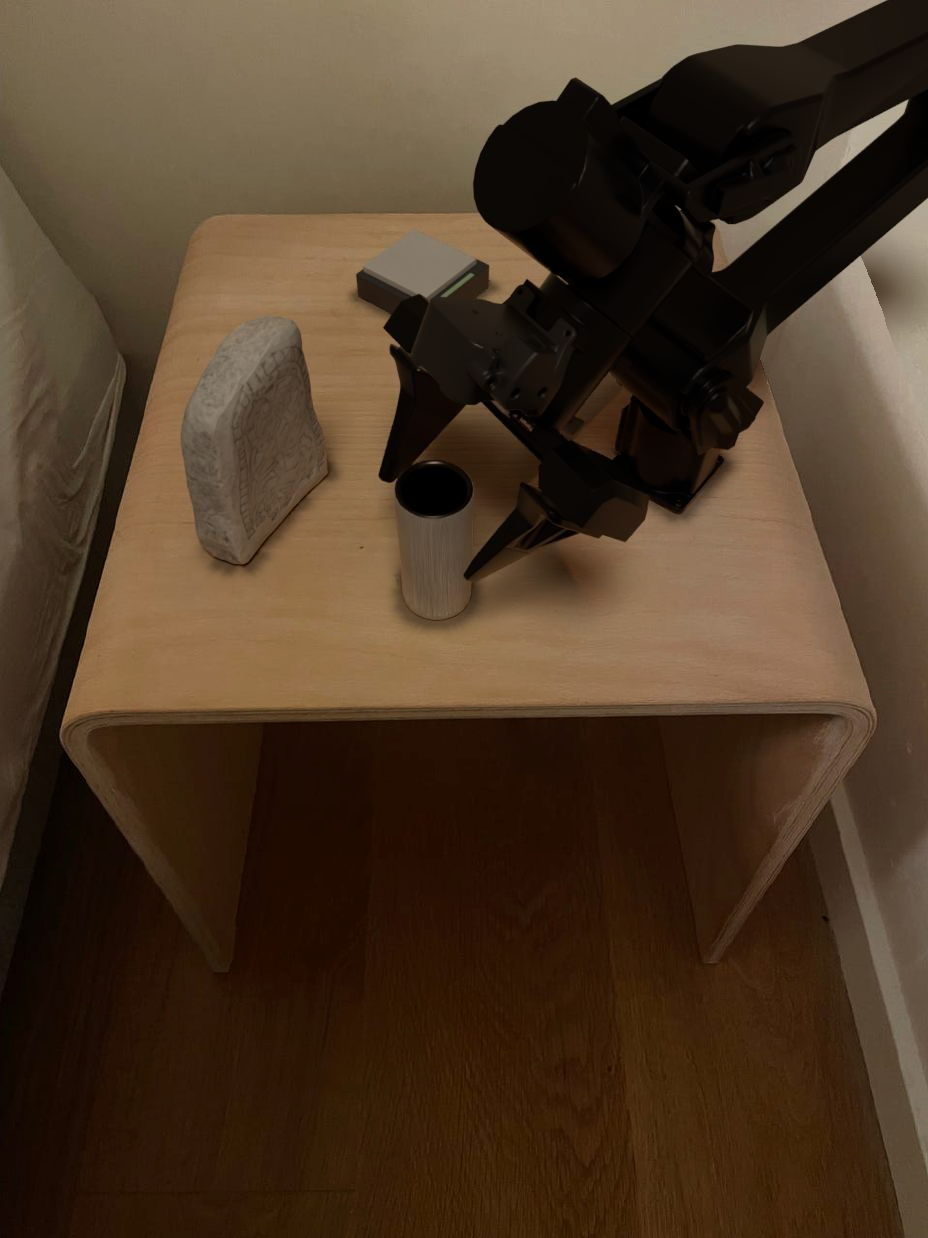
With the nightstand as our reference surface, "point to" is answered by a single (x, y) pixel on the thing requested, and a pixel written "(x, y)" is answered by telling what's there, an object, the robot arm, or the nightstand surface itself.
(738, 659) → the nightstand surface
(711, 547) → the nightstand surface
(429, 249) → the scale
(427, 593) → the planter
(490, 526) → the nightstand surface
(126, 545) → the nightstand surface
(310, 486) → the decorative stone
